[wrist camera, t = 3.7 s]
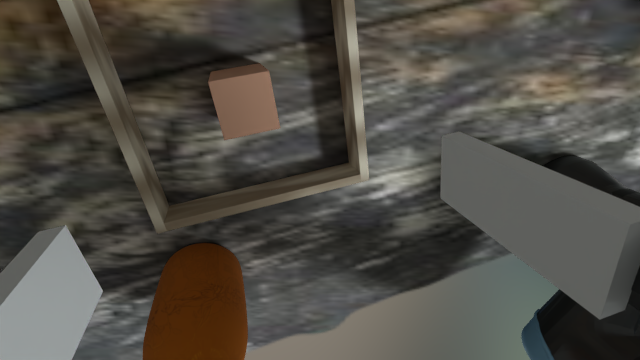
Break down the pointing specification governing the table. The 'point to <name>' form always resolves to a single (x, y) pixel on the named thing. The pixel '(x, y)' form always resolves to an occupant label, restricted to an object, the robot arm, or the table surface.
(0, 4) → the table surface
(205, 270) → the wine bottle
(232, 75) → the block
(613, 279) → the robot arm
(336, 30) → the frame
